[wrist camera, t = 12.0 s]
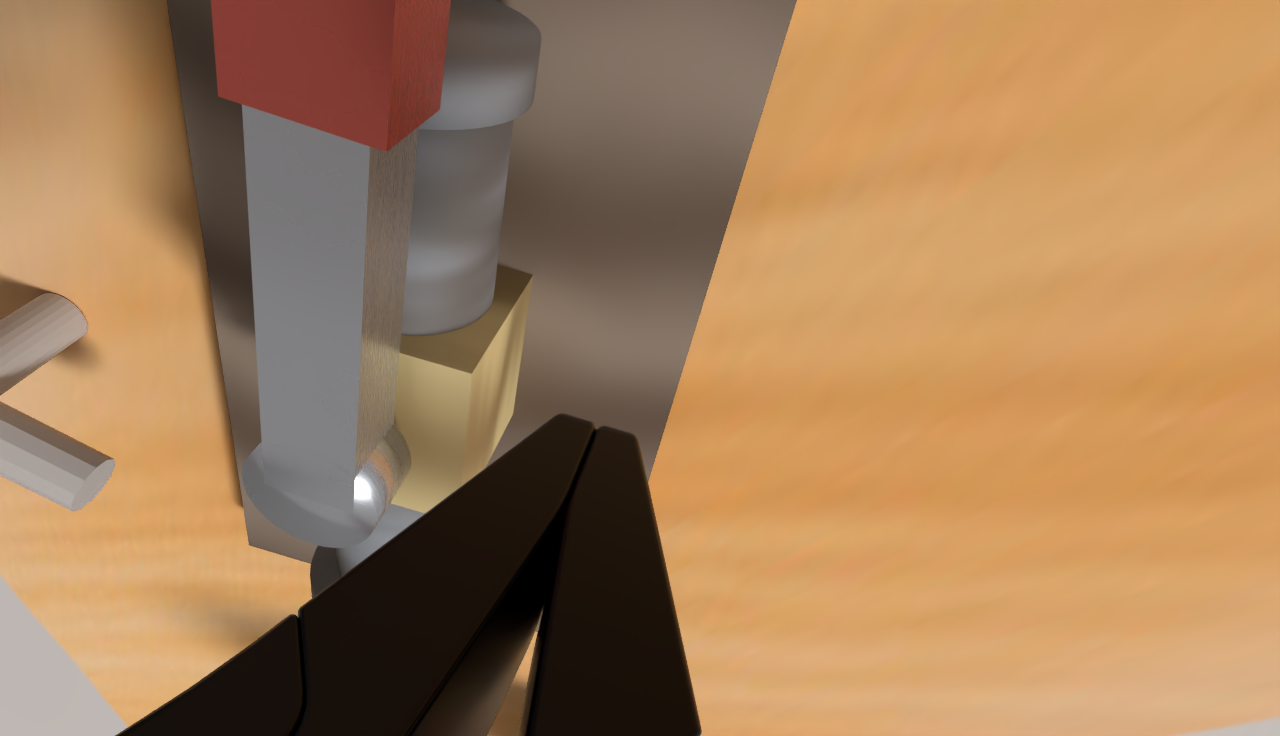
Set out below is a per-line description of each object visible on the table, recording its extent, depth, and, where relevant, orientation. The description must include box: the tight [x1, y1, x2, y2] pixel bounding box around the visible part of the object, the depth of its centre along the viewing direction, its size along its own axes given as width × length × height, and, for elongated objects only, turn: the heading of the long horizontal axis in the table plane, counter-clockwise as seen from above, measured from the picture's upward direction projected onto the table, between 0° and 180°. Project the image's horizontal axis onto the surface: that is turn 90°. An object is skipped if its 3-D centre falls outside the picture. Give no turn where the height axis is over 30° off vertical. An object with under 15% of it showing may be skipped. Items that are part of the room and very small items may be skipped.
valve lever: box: [211, 0, 451, 548], centre depth 14 cm, size 15×3×2 cm, turn 165°
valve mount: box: [167, 0, 797, 632], centre depth 22 cm, size 24×14×6 cm, turn 168°
